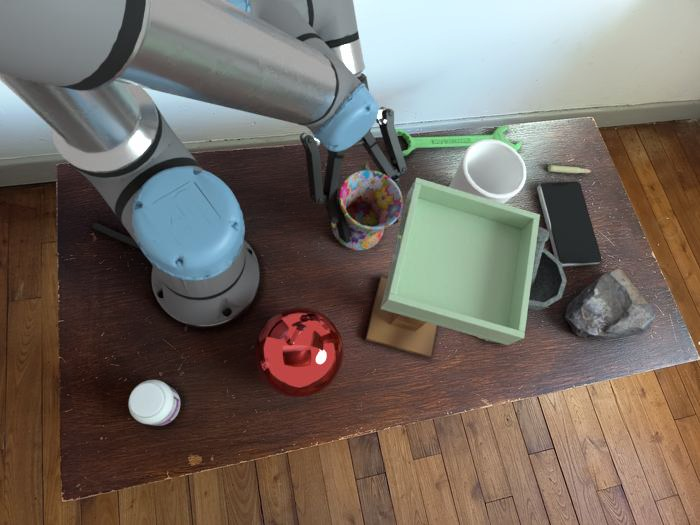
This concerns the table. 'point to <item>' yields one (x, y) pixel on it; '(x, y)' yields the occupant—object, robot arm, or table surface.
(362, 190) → the mug
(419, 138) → the wrench
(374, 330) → the stand
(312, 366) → the ball
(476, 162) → the cup
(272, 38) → the robot arm
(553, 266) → the mortar and pestle
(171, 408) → the pill bottle
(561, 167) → the bullet
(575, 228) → the smartphone
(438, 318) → the tray
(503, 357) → the table surface
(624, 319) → the rock
